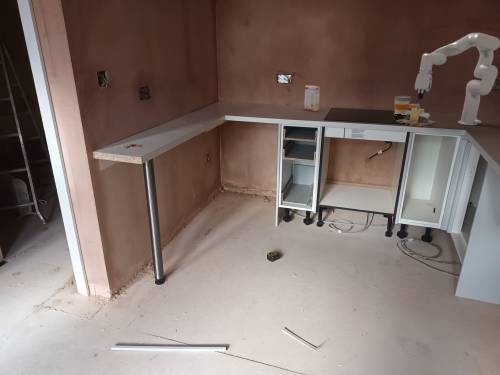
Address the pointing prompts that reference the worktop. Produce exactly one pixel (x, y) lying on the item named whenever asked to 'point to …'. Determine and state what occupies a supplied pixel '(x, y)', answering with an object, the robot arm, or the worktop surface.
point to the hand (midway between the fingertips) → (420, 98)
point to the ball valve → (417, 114)
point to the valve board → (422, 123)
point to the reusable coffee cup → (401, 104)
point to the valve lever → (414, 106)
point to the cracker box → (312, 98)
